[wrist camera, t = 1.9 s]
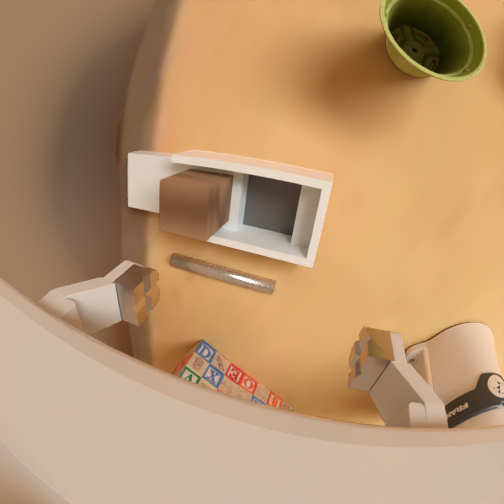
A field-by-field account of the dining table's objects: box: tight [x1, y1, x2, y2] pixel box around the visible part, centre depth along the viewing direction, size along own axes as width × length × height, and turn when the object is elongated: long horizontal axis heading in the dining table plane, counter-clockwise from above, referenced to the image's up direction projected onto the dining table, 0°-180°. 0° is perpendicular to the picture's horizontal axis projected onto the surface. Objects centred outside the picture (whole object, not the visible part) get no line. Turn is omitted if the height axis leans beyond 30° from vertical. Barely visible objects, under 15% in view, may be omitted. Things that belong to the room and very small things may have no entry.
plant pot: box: [380, 0, 487, 81], centre depth 16 cm, size 9×9×9 cm
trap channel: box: [128, 149, 333, 268], centre depth 30 cm, size 9×24×5 cm, turn 83°
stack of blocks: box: [172, 340, 293, 411], centre depth 41 cm, size 21×6×12 cm, turn 50°
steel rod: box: [170, 253, 276, 294], centre depth 36 cm, size 14×2×2 cm
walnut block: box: [159, 169, 234, 242], centre depth 27 cm, size 5×5×6 cm
